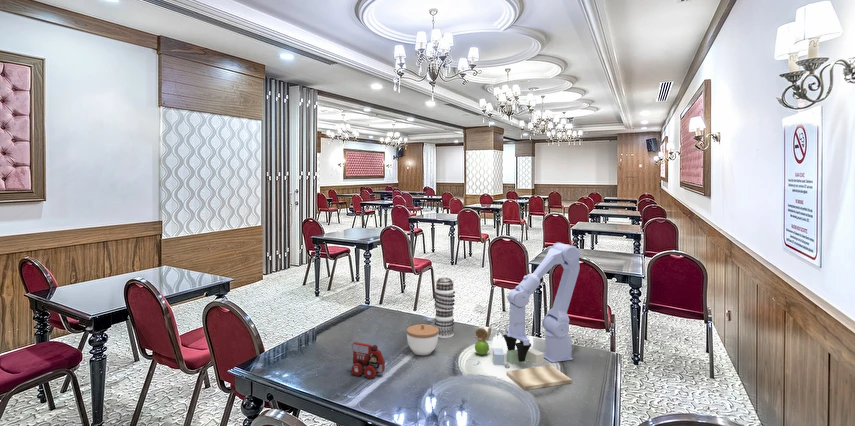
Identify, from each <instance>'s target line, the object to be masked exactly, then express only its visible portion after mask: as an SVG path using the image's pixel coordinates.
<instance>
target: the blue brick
mask: <svg viewBox="0 0 855 426" xmlns="http://www.w3.org/2000/svg"><path fill="white" fill-rule="evenodd" d="M492 360H493V365H495V366H505V353H504V351H503V348H492Z"/></svg>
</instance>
